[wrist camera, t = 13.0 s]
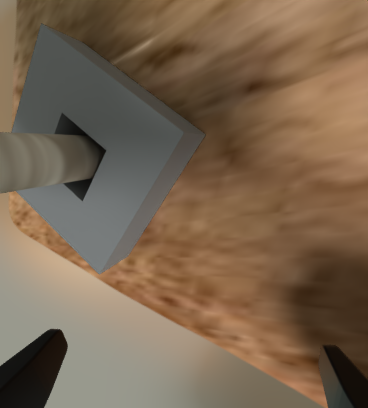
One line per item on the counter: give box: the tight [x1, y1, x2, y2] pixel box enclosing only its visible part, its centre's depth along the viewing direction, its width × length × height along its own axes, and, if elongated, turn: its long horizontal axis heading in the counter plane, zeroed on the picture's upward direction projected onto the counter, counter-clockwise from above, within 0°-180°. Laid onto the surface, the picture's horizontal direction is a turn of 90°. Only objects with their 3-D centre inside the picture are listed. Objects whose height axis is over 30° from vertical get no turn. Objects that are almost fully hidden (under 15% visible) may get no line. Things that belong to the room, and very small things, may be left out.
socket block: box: [11, 23, 206, 274], centre depth 22 cm, size 14×14×4 cm
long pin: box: [0, 132, 106, 193], centre depth 18 cm, size 4×4×13 cm
